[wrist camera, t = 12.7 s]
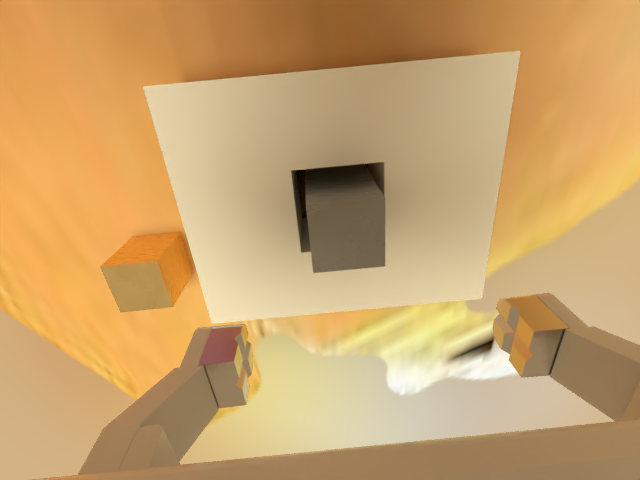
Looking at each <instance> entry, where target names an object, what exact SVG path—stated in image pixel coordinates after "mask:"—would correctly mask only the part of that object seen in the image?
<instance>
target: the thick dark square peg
mask: <svg viewBox="0 0 640 480" xmlns="http://www.w3.org/2000/svg"><path fill="white" fill-rule="evenodd" d="M306 212H307V221H308V230H309V239H310V248H311V257H312V267H313V273H320V272H331V271H341V270H352V269H363V268H374V267H384V266H385V196H384V195H383V193H382V192H381V190H380V189H379V187H378V186H377V184H376V183H375V181H374V180H373V178H372V176H371V175H370V173H369V172H368V170H367V169H366V167H365V166H364V164H356V165H346V166H335V167H324V168H314V169H306Z"/></svg>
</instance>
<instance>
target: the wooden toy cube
mask: <svg viewBox="0 0 640 480" xmlns="http://www.w3.org/2000/svg"><path fill="white" fill-rule="evenodd" d="M100 268H101V270H102V272H103V274H104V276H105V279H106V281H107V283H108V285H109V288H110V290H111V292H112V294H113V296H114V299H115V301H116V303H117V305H118V307H119V310H120V312H129V311H139V310H148V309H158V308H168V307H173V306H174V305H175V303H176V301H177V299H178V298H179V296H180V294H181V292H182V291H183V289H184V287H185V285H186V284H187V282H188V280H189V278H190V277H191V275H192V273H193V271H192V267H191V264H190V261H189V258H188V255H187V251H186V248H185V245H184V242H183V239H182V236H181V232H172V233H163V234H154V235H144V236H135V237H132V238H131V239H130V240H129V241H128V242H127V243H126V244H125V245H123V246H122V247H121V248H120V249H119V250H118V251H117V252H116V253H115V254H114V255H113V256H112V257H110V258H109V259H108V260H107V261H106V262H105V263H104V264H103V265H102V266H101V267H100Z"/></svg>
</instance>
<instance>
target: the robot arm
mask: <svg viewBox="0 0 640 480" xmlns="http://www.w3.org/2000/svg"><path fill="white" fill-rule="evenodd" d="M496 309H497V310H498V312H499V313H500V314H499V315H498V316H497V317H496V318H495V319H494V324H493V332H494V337H495V339H496V341H497V343H498V345H499V346H500V348H501V349H502V350H504V351H506V352H507V353H509V354H510V358H509V361H510V362H511V364H512V365H513V366H514V368H515V369H516V371H517V372H518V373H519V375H520V376H521V377H534V376H548V375H550V377H551V378H553V379H554V380H556V381H557V382H559V383H560V384H562V385H563V386H564V387H566V388H567V389H569V390H571V391H572V392H573V393H575V394H576V395H578V396H579V397H581V398H582V399H584V400H585V401H586V402H588V403H589V404H591V405H592V406H594V407H595V408H597V409H598V410H600V411H601V412H603V413H604V414H606V415H607V416H609V417H610V418H612V419H613V420H614V421H616V422H606V423H596V424H586V425H576V426H566V427H556V428H546V429H536V430H526V431H516V432H506V433H496V434H486V435H477V436H466V437H456V438H446V439H436V440H425V441H415V442H405V443H396V444H385V445H375V446H366V447H355V448H344V449H335V450H324V451H316V452H315V451H314V452H304V453H294V454H285V455H274V456H264V457H254V458H244V459H234V460H225V461H214V462H204V463H194V464H184V465H180V463H179V461H180V460H181V459H182V457H183V456H184V455H185V453H186V452H187V451H188V449H189V448H190V447H191V445H192V444H193V443H194V442H195V440H196V439H197V438H198V436H199V435H200V434H201V432H202V431H203V430H204V429H205V427H206V426H207V425H208V423H209V422H210V421H211V419H212V418H213V417H214V415H215V414H216V413H217V412H218V410H219V409H218V408H225V407H233V406H241V405H247V399H248V393H249V387H250V385H249V381H248V377H249V376H250V375H251V374H252V369H253V352H252V347H251V344H250V343H249V342H248V341H247V337H248V331H247V327H246V325H245V324H238V325H224V326H214V327H202V328H198V329H196V330H195V332H194V334H193V337H192V339H191V342H190V344H189V347H188V349H187V351H186V354H185V356H184V359H183V361H182V363H181V366H180V368H175V369H173V370H172V371H171V372H170V373H169V374H168V375H166V376H165V377H164V378H163V379H162V380H160V381H159V382H158V383H157V384H156V385H154V386H153V387H152V388H151V389H150V390H149V391H147V392H146V393H145V394H144V395H143V396H141V397H140V398H139V399H138V400H137V401H136V402H135V403H133V404H132V405H131V406H130V407H129V408H127V409H126V410H125V411H124V412H123V413H122V414H120V415H119V416H118V417H117V418H116V419H114V420H113V421H112V422H111V423H109V424H108V425H107V426H106V427H105V428H104V429H103V430H102V432H101V434H100V436H99V437H98V439H97V441H96V443H95V445H94V446H93V448H92V450H91V452H90V454H89V456H88V458H87V459H86V461H85V463H84V464H83V466H82V468H81V470H80V472H79V474H78V475H73V476H63V477H53V478H44V479H34V480H640V345H637V344H635V343H632V342H630V341H628V340H625V339H623V338H620V337H618V336H615V335H613V334H611V333H608V332H606V331H603V330H601V329H598V328H596V327H588V326H587V325H586V324H585V323H583V322H582V321H581V320H580V319H579V318H578V317H577V316H576V315H575V314H574V313H573V312H571V311H570V310H569V309H568V308H567V307H566V306H565V305H564V304H563V303H561V302H560V301H559V300H558V299H557V298H556V297H555V296H554V295H552V294H550V293H543V294H536V295H529V296H520V297H510V298H501V299H500V300H499V301H498V303H497V307H496Z"/></svg>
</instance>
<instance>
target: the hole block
mask: <svg viewBox="0 0 640 480" xmlns="http://www.w3.org/2000/svg"><path fill="white" fill-rule="evenodd" d="M520 53H521V51H511V52H500V53H490V54H479V55H469V56H458V57H448V58H437V59H427V60H416V61H406V62H395V63H385V64H374V65H364V66H353V67H343V68H332V69H322V70H311V71H301V72H290V73H280V74H269V75H259V76H248V77H238V78H227V79H217V80H206V81H196V82H185V83H175V84H164V85H154V86H143V88H144V92H145V95H146V99H147V102H148V106H149V109H150V113H151V116H152V119H153V123H154V126H155V130H156V133H157V137H158V140H159V143H160V147H161V150H162V154H163V157H164V161H165V164H166V168H167V171H168V174H169V178H170V181H171V185H172V188H173V192H174V195H175V198H176V202H177V205H178V209H179V212H180V216H181V219H182V223H183V226H184V229H185V233H186V236H187V240H188V243H189V247H190V250H191V253H192V257H193V260H194V264H195V267H196V271H197V274H198V277H199V281H200V284H201V288H202V291H203V295H204V298H205V302H206V305H207V308H208V312H209V315H210V319H211V322H212V324H213V323H224V322H235V321H245V320H256V319H267V318H278V317H288V316H299V315H310V314H321V313H332V312H342V311H353V310H364V309H375V308H385V307H396V306H407V305H418V304H429V303H439V302H450V301H461V300H472V299H482V294H483V287H484V281H485V275H486V269H487V262H488V256H489V250H490V243H491V237H492V231H493V224H494V218H495V212H496V205H497V199H498V193H499V186H500V180H501V174H502V167H503V161H504V155H505V148H506V142H507V136H508V129H509V123H510V117H511V110H512V104H513V98H514V91H515V85H516V79H517V72H518V66H519V59H520ZM367 163H368V172H369V173H370V175H371V176H372V178H373V180H374V181H375V183H376V184H377V186H378V187H379V189H380V190H381V192H382V193H383V195H384V196H385V266H384V267H374V268H363V269H352V270H341V271H331V272H320V273H313V267H312V257H311V248H310V239H309V230H308V221H307V218H303V219H302V214H301V205H300V197H299V189H298V180H297V172H296V170H303V169H314V168H324V167H335V166H346V165H356V164H367Z"/></svg>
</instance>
